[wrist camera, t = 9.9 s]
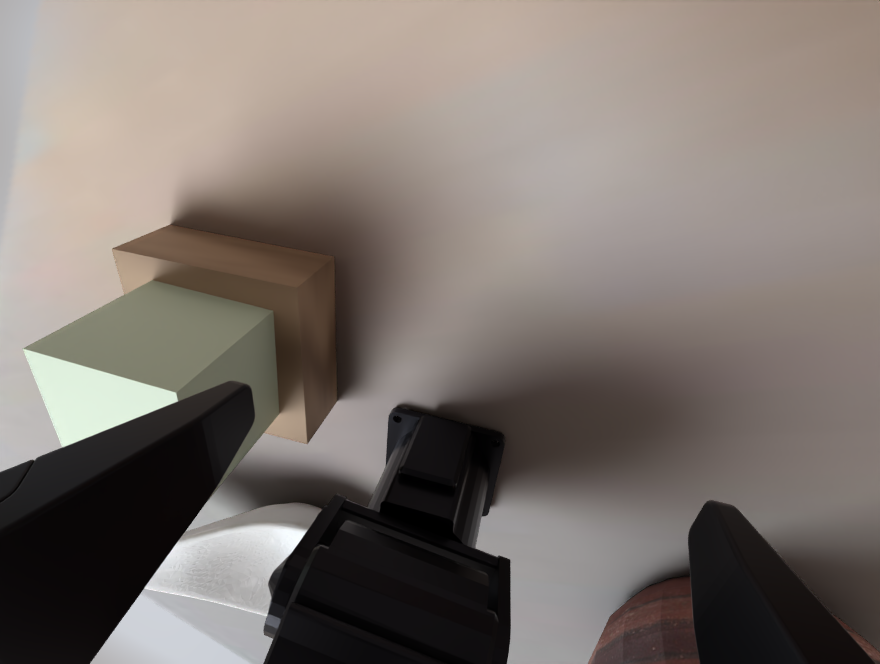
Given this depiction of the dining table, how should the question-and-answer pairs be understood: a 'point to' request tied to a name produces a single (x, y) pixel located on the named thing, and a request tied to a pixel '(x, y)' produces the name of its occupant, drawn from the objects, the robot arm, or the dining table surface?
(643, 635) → the pottery
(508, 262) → the dining table surface
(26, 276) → the dining table surface
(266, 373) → the sage block
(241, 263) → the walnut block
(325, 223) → the dining table surface
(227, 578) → the spoon rest
